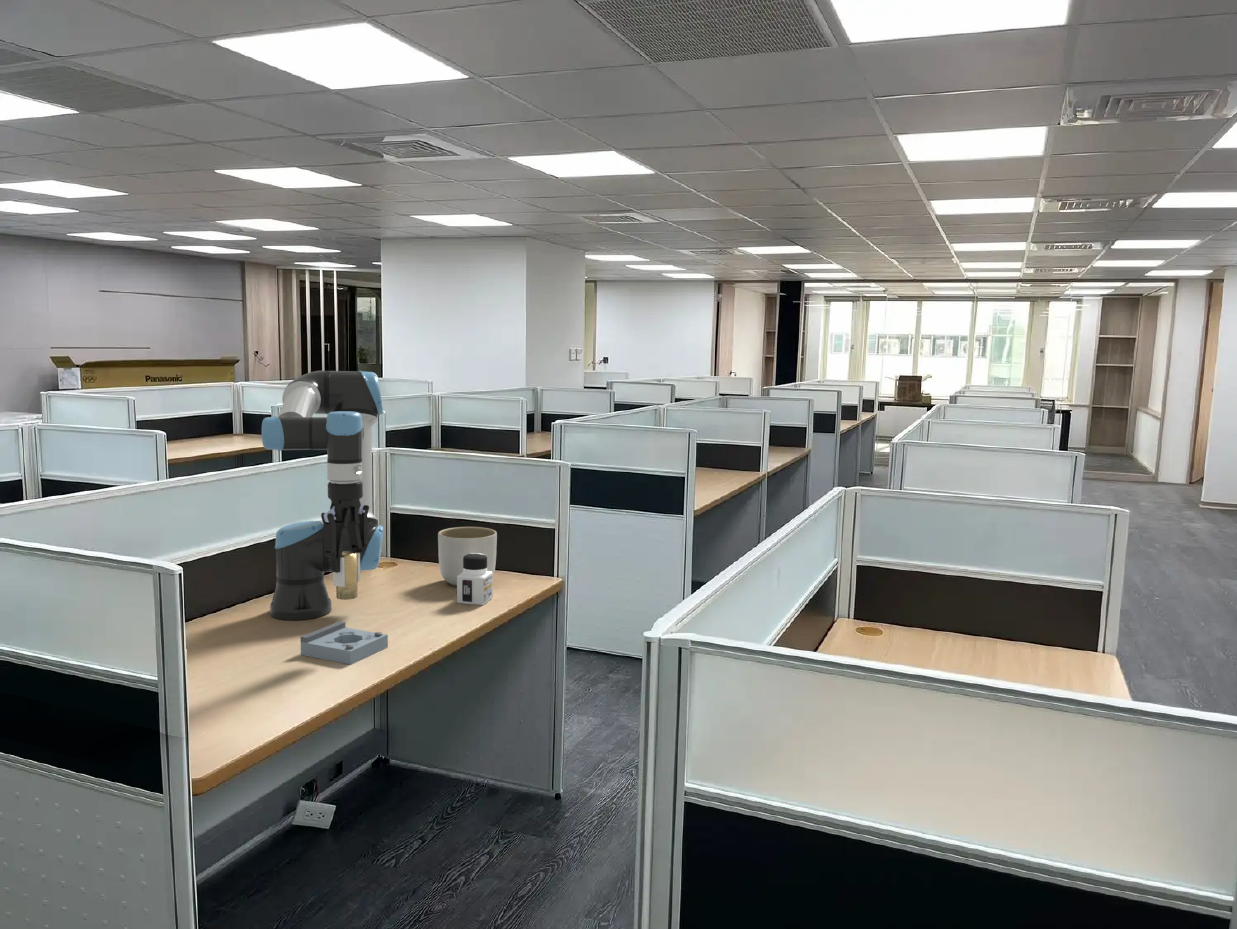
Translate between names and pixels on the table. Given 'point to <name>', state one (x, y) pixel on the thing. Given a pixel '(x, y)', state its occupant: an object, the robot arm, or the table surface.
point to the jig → (342, 643)
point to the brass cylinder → (349, 577)
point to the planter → (464, 549)
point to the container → (475, 580)
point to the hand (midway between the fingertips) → (346, 583)
